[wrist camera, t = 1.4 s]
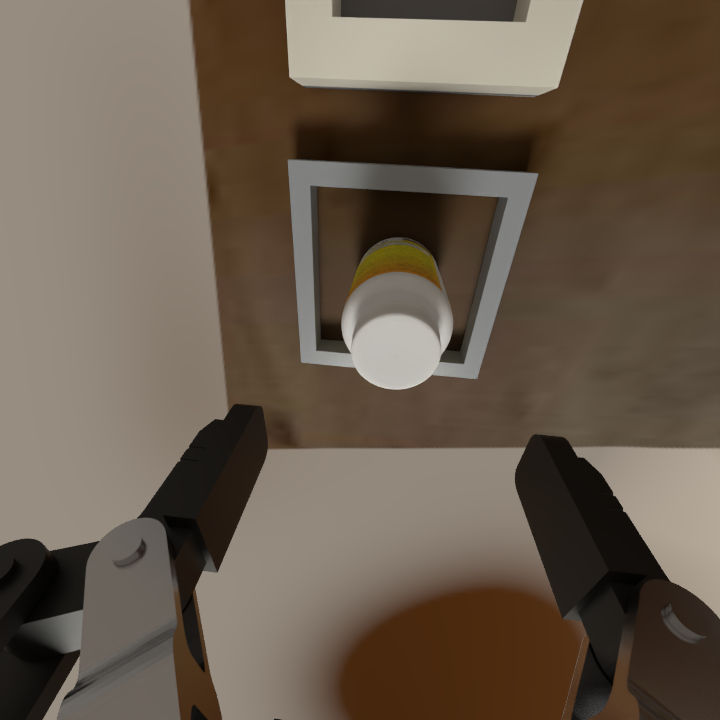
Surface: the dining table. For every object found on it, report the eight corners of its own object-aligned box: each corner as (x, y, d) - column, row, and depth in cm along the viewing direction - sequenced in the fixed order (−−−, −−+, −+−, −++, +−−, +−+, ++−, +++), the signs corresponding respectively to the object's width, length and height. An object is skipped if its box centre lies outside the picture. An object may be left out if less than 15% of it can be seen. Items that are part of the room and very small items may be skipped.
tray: (527, 171, 18) (538, 173, 17) (472, 365, 26) (476, 379, 24) (296, 158, 19) (287, 159, 18) (306, 350, 27) (301, 362, 25)
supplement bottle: (343, 258, 22) (308, 325, 14) (419, 219, 20) (434, 269, 12) (378, 324, 25) (366, 416, 16) (449, 295, 23) (478, 382, 14)
